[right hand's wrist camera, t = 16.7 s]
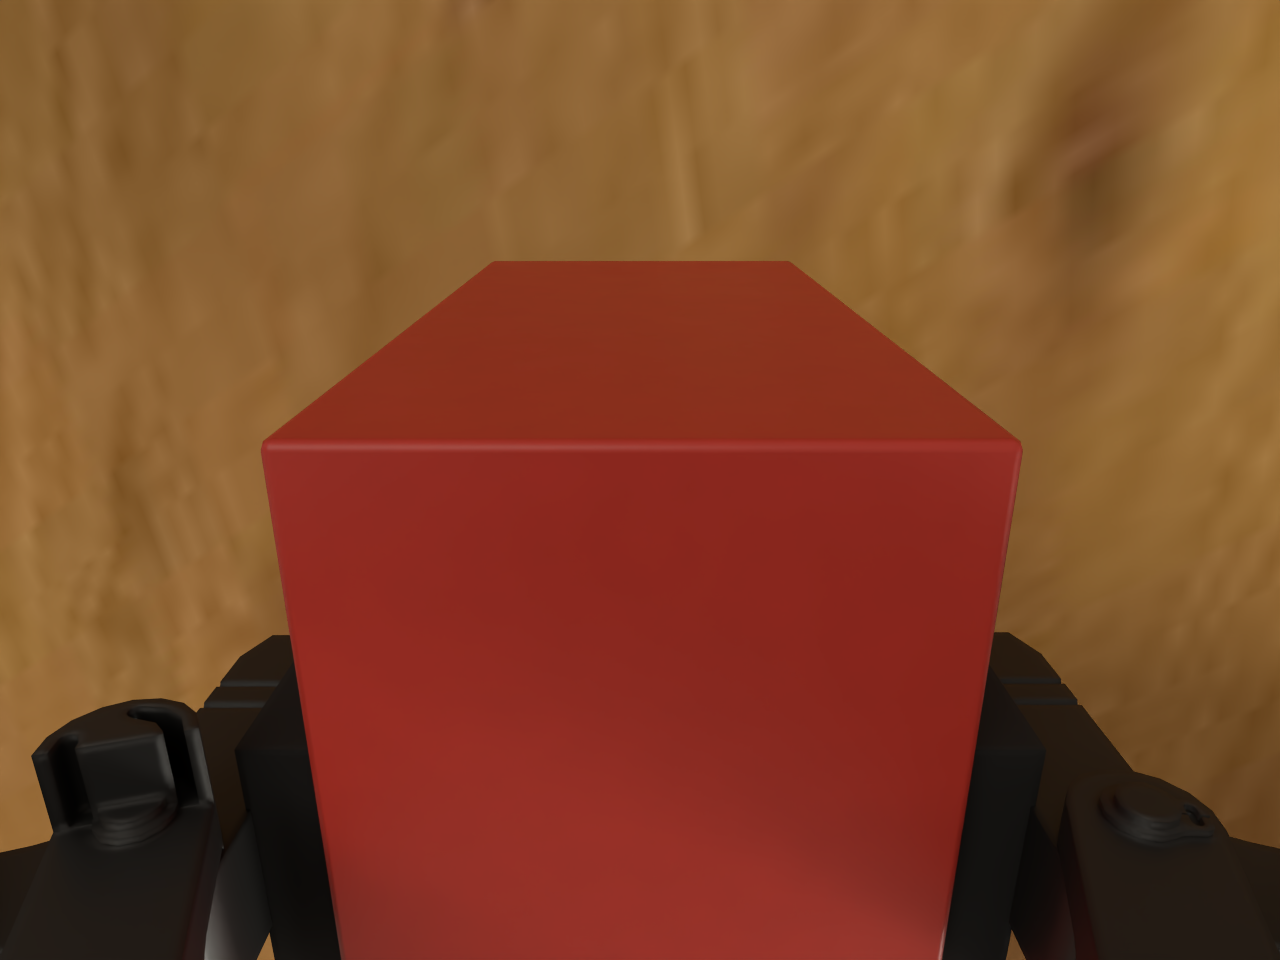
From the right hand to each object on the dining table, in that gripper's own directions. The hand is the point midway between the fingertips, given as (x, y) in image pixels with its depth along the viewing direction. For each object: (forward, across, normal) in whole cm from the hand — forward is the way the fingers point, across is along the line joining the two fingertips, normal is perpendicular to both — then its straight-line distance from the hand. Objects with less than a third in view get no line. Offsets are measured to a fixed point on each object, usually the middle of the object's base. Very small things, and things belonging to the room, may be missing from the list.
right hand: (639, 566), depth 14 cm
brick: (+4, 0, 0) cm, 4 cm away
